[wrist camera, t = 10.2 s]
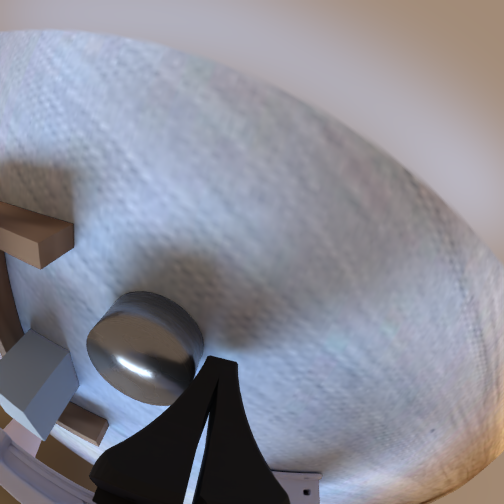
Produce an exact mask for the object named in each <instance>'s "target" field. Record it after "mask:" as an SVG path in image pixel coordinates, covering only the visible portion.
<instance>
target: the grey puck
mask: <svg viewBox="0 0 504 504" xmlns="http://www.w3.org/2000/svg"><path fill="white" fill-rule="evenodd" d="M87 351H88V355H89V357H90V360H91V361H92V363H93V365H94V367H95V368H96V370H97V371H98V372H99V373H100V375H101V376H102V377H103V378H104V379H105V380H106V381H107V382H108V383H109V384H111V385H112V386H113V387H114V388H116V389H117V390H119V391H120V392H122V393H123V394H125V395H127V396H129V397H131V398H133V399H135V400H137V401H140V402H143V403H147V404H151V405H158V406H168V405H172V404H173V403H174V402H175V401H176V400H177V399H178V398H179V396H180V395H181V394H182V393H183V392H184V391H185V390H186V389H187V387H188V386H189V385H190V383H191V382H192V381H193V380H194V377H195V373H196V370H197V367H198V364H199V361H200V358H201V355H202V352H203V339H202V335H201V332H200V330H199V328H198V326H197V324H196V323H195V322H194V320H193V319H192V318H191V317H190V315H189V314H188V313H187V312H186V311H184V310H183V309H182V308H181V307H180V306H178V305H177V304H176V303H174V302H172V301H171V300H169V299H167V298H165V297H162V296H160V295H157V294H153V293H149V292H131V293H128V294H126V295H124V296H122V297H120V298H119V299H118V300H117V301H116V302H115V303H114V305H113V306H112V307H111V308H110V309H109V310H108V311H107V313H106V314H105V315H104V316H103V317H102V318H101V320H100V321H99V322H98V323H97V324H96V325H95V327H94V328H93V329H92V330H91V331H90V333H89V335H88V337H87Z"/></svg>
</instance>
